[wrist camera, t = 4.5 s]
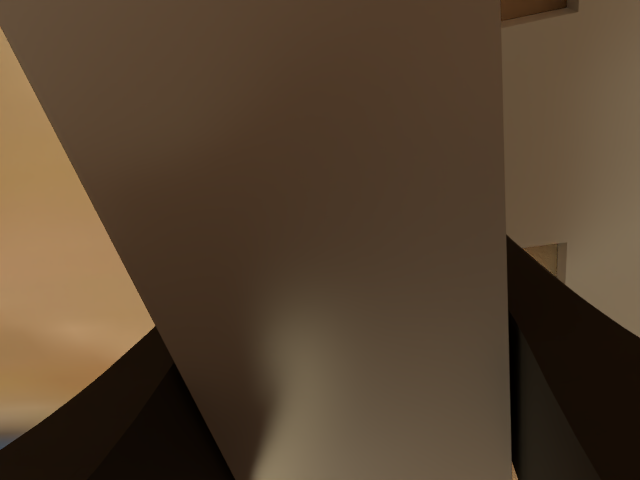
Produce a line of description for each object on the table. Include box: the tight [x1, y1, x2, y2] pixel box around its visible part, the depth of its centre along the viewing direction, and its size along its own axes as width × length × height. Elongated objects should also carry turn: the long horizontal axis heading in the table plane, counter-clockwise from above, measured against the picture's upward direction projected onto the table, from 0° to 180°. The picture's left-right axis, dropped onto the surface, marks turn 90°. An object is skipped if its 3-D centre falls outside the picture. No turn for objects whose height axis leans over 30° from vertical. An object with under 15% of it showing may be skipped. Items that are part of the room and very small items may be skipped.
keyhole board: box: [501, 0, 640, 337], centre depth 14 cm, size 20×15×1 cm
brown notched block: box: [0, 0, 512, 480], centre depth 9 cm, size 14×4×6 cm, turn 12°
